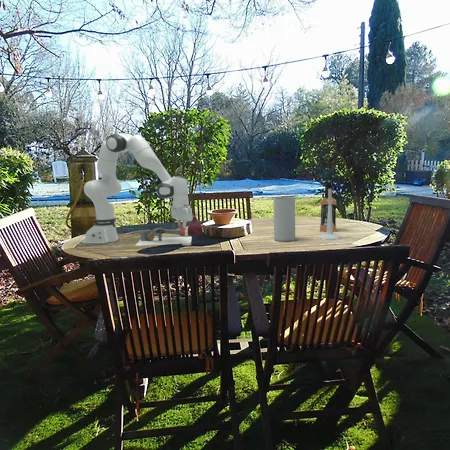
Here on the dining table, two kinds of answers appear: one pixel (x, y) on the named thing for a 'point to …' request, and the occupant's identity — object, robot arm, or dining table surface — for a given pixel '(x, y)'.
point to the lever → (169, 231)
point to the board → (162, 239)
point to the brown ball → (150, 237)
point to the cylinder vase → (284, 219)
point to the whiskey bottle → (325, 210)
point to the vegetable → (195, 227)
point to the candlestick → (329, 221)
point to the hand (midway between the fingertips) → (182, 227)
